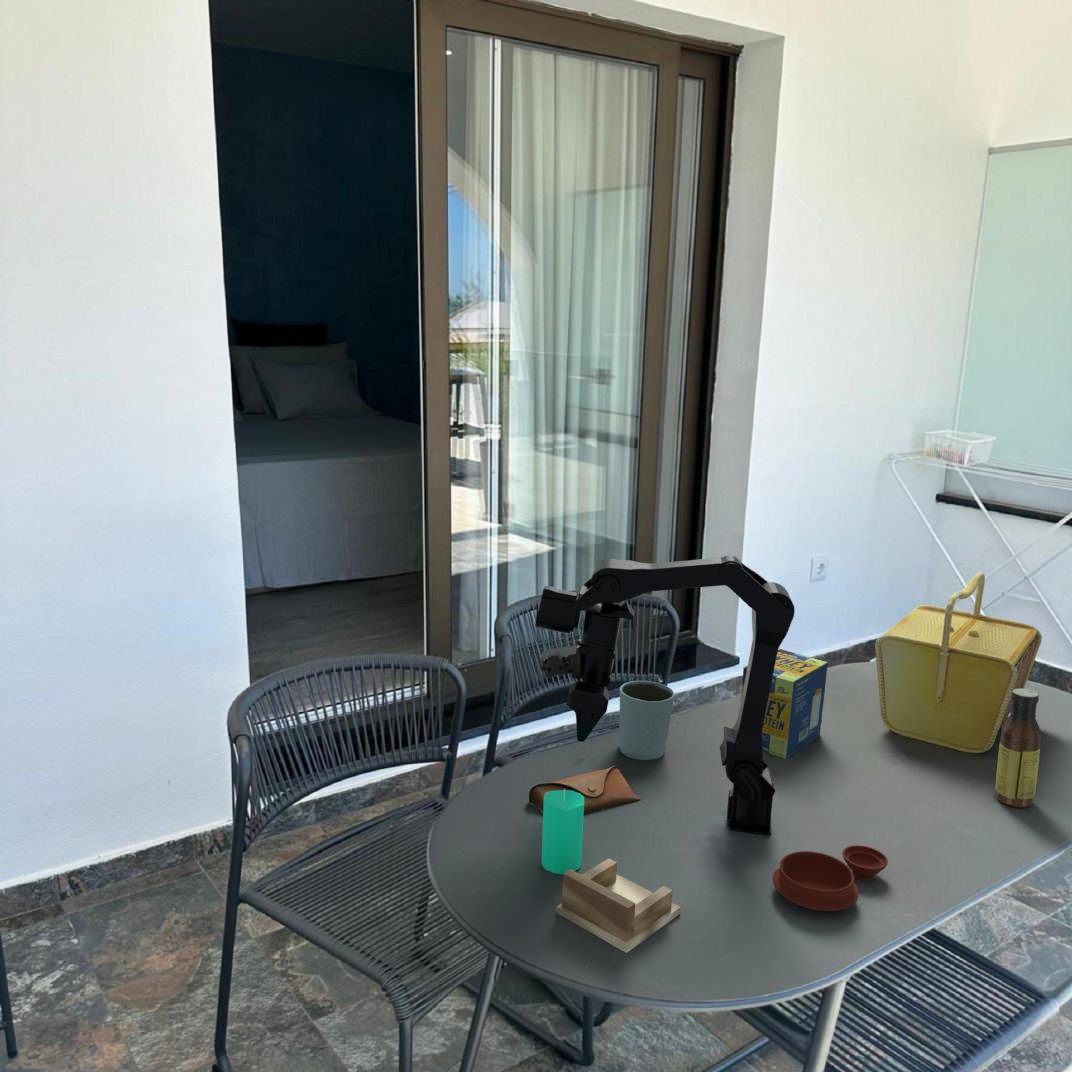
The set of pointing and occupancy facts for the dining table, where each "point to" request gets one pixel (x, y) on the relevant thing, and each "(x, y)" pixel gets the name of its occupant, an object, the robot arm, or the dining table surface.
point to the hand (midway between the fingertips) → (582, 729)
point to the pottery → (826, 877)
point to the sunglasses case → (589, 789)
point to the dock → (614, 906)
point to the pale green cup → (644, 719)
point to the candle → (562, 831)
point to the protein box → (793, 703)
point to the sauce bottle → (1019, 751)
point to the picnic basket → (953, 672)
